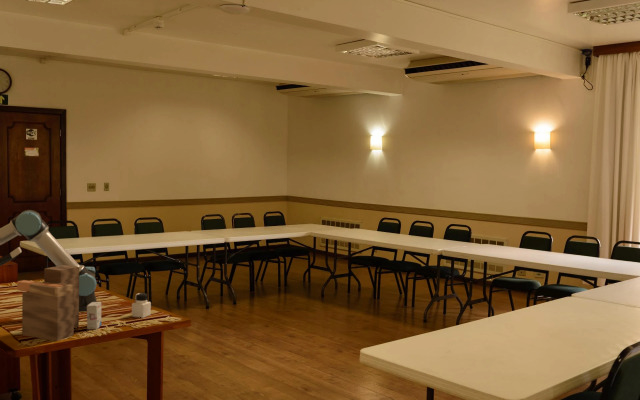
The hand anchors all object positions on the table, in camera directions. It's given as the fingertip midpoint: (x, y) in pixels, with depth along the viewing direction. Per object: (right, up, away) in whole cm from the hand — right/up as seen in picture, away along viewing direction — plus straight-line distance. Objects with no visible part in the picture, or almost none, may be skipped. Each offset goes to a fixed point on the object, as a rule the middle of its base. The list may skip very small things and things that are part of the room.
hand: (8, 251), depth 296 cm
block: (+19, -18, -9) cm, 28 cm away
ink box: (+39, -38, +7) cm, 55 cm away
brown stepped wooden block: (+25, -38, -4) cm, 46 cm away
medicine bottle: (+55, -37, +32) cm, 73 cm away
